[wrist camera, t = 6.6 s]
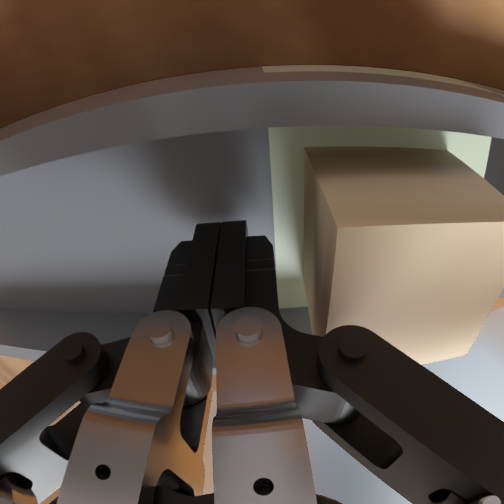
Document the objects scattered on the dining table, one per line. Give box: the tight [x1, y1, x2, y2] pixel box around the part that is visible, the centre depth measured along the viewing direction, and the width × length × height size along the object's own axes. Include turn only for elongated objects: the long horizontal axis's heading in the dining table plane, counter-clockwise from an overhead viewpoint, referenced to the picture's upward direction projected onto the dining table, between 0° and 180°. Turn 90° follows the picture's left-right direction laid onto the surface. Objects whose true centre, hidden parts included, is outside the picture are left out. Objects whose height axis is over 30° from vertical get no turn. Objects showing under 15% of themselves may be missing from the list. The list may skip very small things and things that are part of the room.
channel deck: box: [0, 65, 504, 375], centre depth 11 cm, size 10×33×6 cm, turn 95°
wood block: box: [303, 146, 504, 365], centre depth 9 cm, size 5×5×4 cm
